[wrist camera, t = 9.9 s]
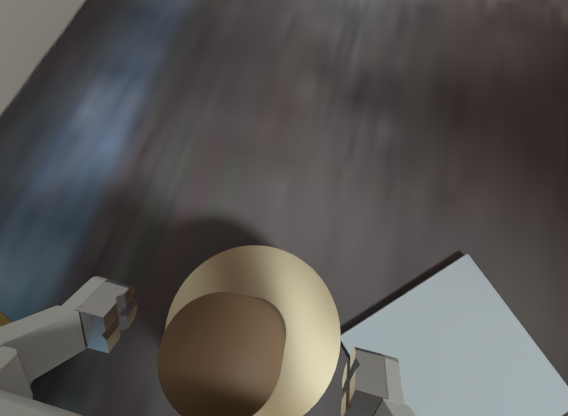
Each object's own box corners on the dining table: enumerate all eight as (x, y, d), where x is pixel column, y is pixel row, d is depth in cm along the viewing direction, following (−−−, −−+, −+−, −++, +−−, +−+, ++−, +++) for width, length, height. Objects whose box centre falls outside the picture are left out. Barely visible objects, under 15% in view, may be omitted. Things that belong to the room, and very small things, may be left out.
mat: (464, 254, 22) (467, 253, 22) (573, 400, 20) (579, 402, 19) (338, 336, 21) (338, 336, 21) (437, 502, 18) (440, 506, 18)
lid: (283, 219, 19) (277, 154, 11) (372, 364, 17) (449, 422, 9) (142, 300, 18) (16, 297, 10) (217, 466, 16) (136, 645, 8)
